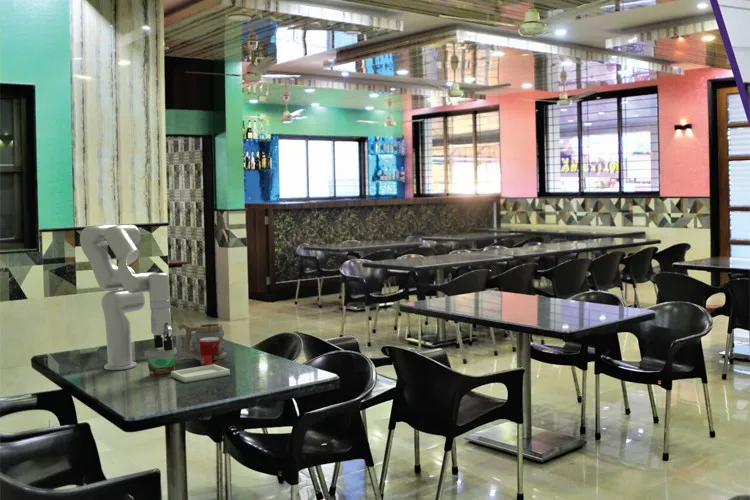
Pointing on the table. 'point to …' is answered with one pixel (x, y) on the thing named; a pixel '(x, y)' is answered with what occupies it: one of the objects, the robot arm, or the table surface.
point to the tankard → (203, 332)
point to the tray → (200, 373)
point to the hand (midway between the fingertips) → (163, 348)
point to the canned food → (209, 351)
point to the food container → (161, 362)
